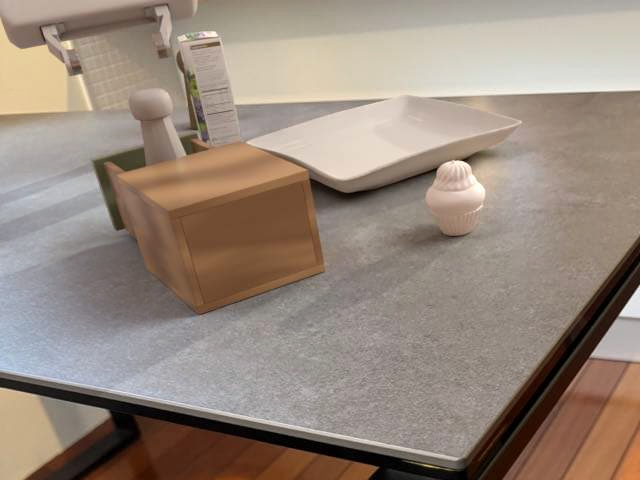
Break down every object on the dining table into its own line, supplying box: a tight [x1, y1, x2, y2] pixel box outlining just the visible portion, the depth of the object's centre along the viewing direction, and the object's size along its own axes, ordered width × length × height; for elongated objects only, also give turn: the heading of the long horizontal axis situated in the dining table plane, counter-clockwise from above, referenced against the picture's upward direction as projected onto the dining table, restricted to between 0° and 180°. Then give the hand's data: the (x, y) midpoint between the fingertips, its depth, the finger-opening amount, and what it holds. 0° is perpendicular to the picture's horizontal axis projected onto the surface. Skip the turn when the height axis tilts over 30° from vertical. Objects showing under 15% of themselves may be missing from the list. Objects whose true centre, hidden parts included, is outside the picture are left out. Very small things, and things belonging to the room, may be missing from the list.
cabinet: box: [116, 140, 326, 315], centre depth 80 cm, size 16×14×10 cm
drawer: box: [89, 131, 216, 240], centre depth 91 cm, size 19×12×8 cm, turn 32°
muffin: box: [425, 160, 486, 237], centre depth 82 cm, size 6×6×7 cm
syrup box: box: [177, 30, 243, 147], centre depth 116 cm, size 6×6×14 cm
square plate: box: [244, 94, 523, 194], centre depth 106 cm, size 27×27×4 cm
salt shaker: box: [128, 87, 187, 167], centre depth 86 cm, size 6×6×13 cm
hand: (120, 62), depth 85 cm, fingers open, 8 cm apart
